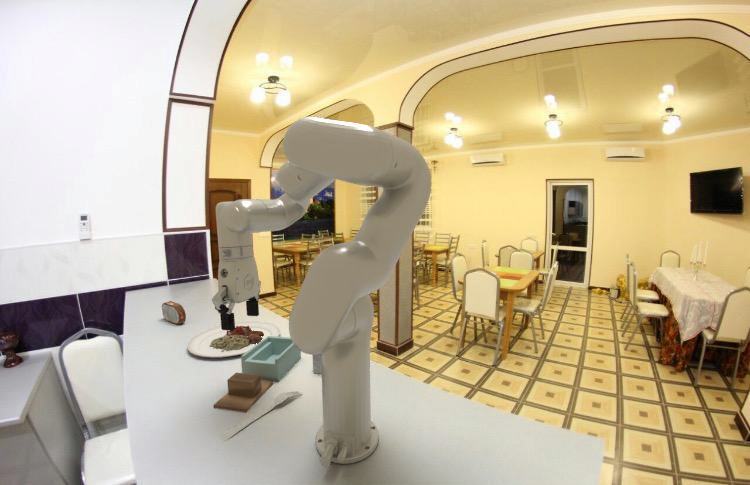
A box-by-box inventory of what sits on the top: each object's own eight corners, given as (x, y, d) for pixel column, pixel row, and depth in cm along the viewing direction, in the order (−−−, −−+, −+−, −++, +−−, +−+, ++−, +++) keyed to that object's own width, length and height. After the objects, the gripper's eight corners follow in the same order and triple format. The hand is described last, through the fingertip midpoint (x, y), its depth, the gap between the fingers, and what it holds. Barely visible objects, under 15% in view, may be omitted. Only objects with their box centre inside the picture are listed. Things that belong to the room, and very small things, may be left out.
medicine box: (327, 374, 88) (326, 345, 87) (312, 373, 89) (311, 344, 88) (336, 361, 96) (335, 334, 95) (322, 360, 97) (321, 333, 96)
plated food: (199, 372, 91) (199, 361, 90) (179, 340, 113) (179, 331, 113) (294, 342, 110) (294, 333, 110) (261, 320, 133) (261, 312, 133)
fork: (218, 448, 65) (216, 436, 64) (298, 391, 81) (297, 381, 81) (225, 454, 63) (222, 443, 63) (305, 395, 79) (304, 385, 79)
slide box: (278, 382, 85) (277, 359, 84) (242, 378, 87) (241, 356, 86) (300, 357, 98) (300, 338, 98) (269, 354, 101) (268, 335, 100)
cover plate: (246, 414, 72) (245, 393, 72) (213, 409, 74) (212, 389, 74) (273, 385, 84) (272, 367, 83) (244, 382, 86) (243, 364, 85)
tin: (187, 324, 129) (185, 304, 128) (179, 327, 126) (177, 306, 125) (169, 318, 137) (167, 299, 136) (161, 320, 134) (159, 301, 133)
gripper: (226, 258, 66) (232, 337, 68) (269, 248, 83) (273, 311, 84) (195, 258, 67) (202, 335, 69) (244, 248, 84) (248, 310, 86)
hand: (241, 322), depth 77 cm, fingers open, 9 cm apart
